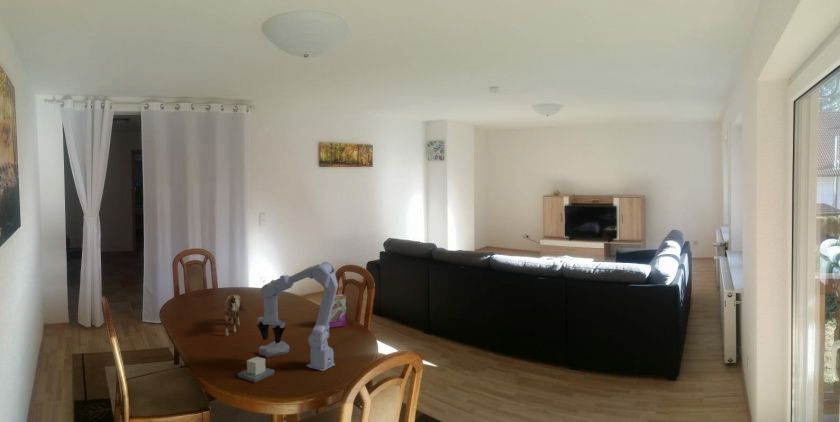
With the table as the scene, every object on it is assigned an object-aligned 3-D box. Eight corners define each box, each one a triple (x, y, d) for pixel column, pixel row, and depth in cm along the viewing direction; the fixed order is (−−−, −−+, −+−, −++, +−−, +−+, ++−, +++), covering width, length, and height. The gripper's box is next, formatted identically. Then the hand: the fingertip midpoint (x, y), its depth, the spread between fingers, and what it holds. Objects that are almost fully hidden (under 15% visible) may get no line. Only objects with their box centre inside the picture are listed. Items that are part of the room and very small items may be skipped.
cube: (265, 370, 210) (265, 359, 210) (255, 375, 206) (255, 363, 205) (257, 368, 213) (256, 356, 212) (247, 372, 208) (246, 360, 208)
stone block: (291, 355, 236) (278, 346, 242) (292, 346, 235) (279, 337, 241) (270, 364, 227) (256, 354, 233) (270, 354, 226) (257, 345, 232)
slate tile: (274, 373, 211) (274, 370, 211) (255, 382, 203) (255, 378, 202) (257, 368, 216) (257, 365, 216) (238, 376, 208) (237, 373, 208)
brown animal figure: (236, 338, 253) (235, 297, 251) (220, 339, 251) (218, 298, 249) (246, 319, 283) (245, 282, 281) (231, 320, 282) (230, 283, 280)
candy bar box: (326, 329, 267) (326, 298, 265) (323, 326, 271) (323, 296, 270) (346, 326, 273) (346, 295, 271) (343, 323, 277) (343, 293, 275)
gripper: (251, 310, 221) (252, 340, 222) (275, 315, 214) (276, 347, 215) (264, 306, 227) (265, 336, 228) (288, 311, 220) (288, 342, 221)
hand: (271, 341), depth 222 cm, fingers open, 7 cm apart
